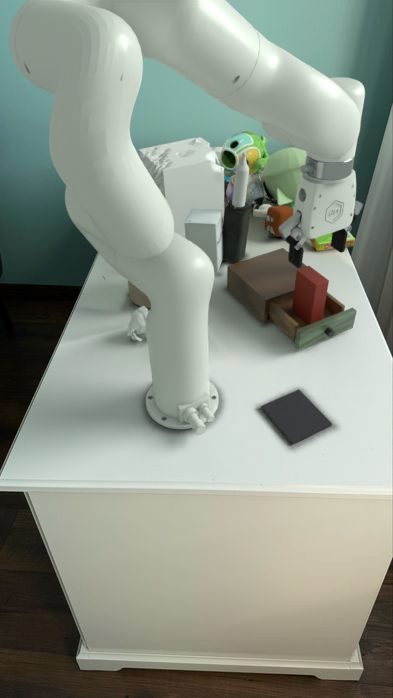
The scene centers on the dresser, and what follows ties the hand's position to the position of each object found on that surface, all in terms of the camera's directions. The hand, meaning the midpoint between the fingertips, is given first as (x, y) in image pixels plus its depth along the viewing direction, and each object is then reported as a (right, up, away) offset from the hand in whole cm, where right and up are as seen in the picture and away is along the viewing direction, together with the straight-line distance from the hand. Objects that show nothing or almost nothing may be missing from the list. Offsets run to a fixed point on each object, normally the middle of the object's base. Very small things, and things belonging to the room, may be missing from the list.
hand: (316, 256), depth 93 cm
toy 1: (+1, +37, +46) cm, 59 cm away
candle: (-13, +5, +30) cm, 34 cm away
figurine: (-29, -14, +10) cm, 34 cm away
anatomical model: (-6, +29, +49) cm, 57 cm away
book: (0, -10, +9) cm, 14 cm away
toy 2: (-5, +21, +44) cm, 49 cm away
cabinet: (-5, -5, +18) cm, 20 cm away
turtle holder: (-3, +44, +64) cm, 78 cm away
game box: (+12, +8, +31) cm, 35 cm away
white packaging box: (-20, +3, +28) cm, 34 cm away
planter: (-31, -5, +20) cm, 37 cm away
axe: (-38, +37, +65) cm, 84 cm away
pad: (-5, -28, -8) cm, 30 cm away
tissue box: (-16, +27, +40) cm, 51 cm away
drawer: (0, -11, +10) cm, 15 cm away
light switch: (-15, +43, +70) cm, 83 cm away
